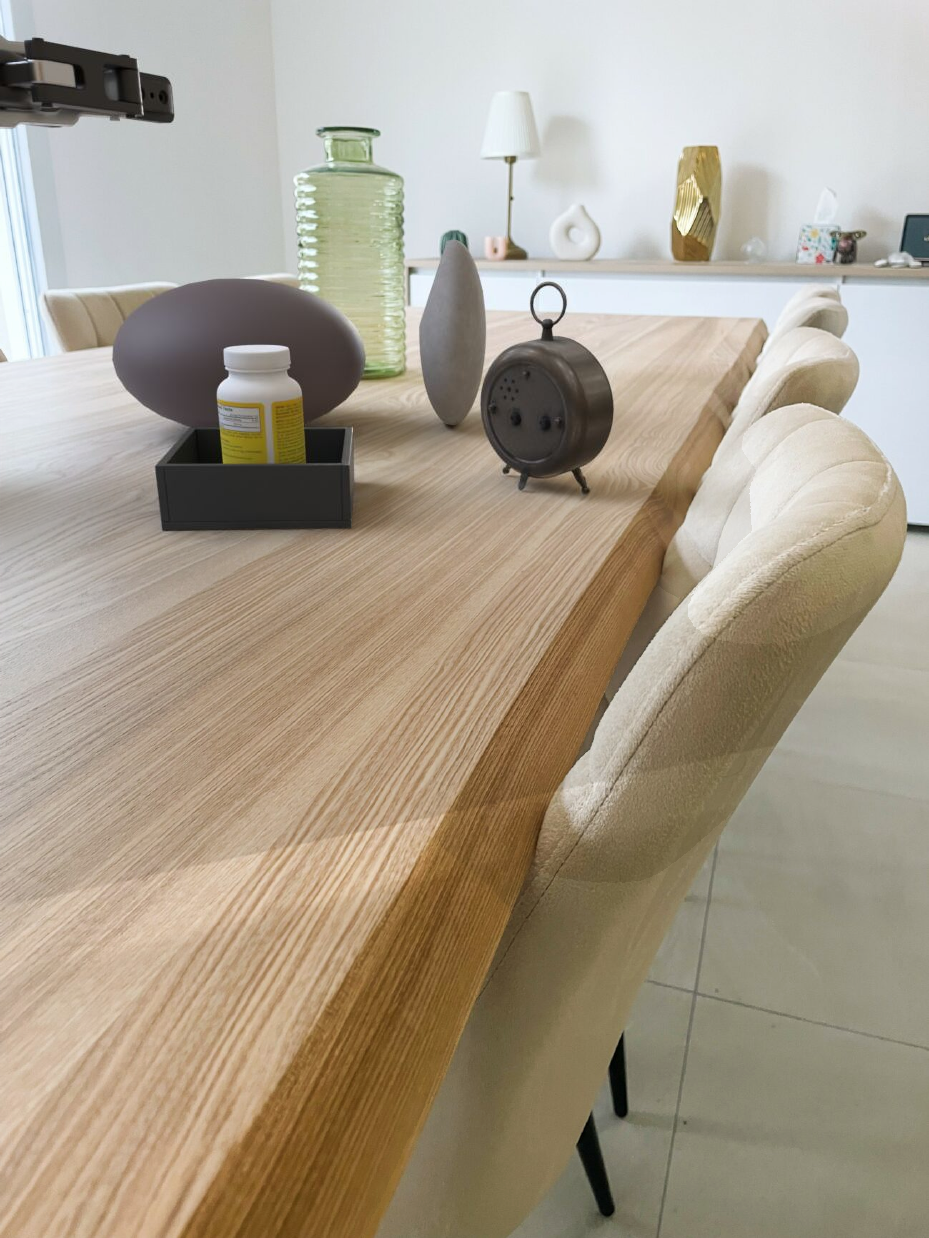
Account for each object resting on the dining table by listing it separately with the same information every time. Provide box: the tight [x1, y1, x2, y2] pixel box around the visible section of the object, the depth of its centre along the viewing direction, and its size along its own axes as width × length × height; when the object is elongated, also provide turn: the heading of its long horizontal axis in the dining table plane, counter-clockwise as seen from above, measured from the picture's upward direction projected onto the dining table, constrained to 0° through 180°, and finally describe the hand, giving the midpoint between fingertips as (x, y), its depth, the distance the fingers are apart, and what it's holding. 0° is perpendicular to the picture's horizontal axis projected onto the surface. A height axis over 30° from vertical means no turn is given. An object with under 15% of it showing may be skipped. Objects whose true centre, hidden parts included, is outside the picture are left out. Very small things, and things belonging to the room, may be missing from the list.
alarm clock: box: [479, 281, 615, 495], centre depth 75 cm, size 11×5×16 cm, turn 48°
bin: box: [154, 426, 355, 531], centre depth 71 cm, size 13×13×5 cm
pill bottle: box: [217, 345, 306, 464], centre depth 69 cm, size 6×6×11 cm
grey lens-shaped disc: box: [418, 239, 487, 426], centre depth 99 cm, size 18×7×19 cm, turn 1°
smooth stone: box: [111, 277, 367, 428], centre depth 94 cm, size 25×25×15 cm
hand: (111, 104), depth 52 cm, fingers open, 8 cm apart
